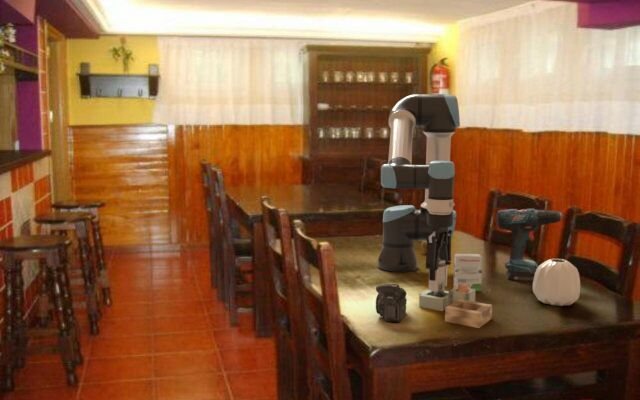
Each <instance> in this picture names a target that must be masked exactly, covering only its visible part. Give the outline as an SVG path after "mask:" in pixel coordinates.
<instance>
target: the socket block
mask: <svg viewBox="0 0 640 400" xmlns="http://www.w3.org/2000/svg"><path fill="white" fill-rule="evenodd" d="M476 292H477V291H476V289H470V288H468V292H467V293H466V292H460V291H458V286H456V287H453V288H451V289H449V290H444V297H443V298H442V297H436V296H431V290H429V289H425V290H424V291H421V292H420V293H418V296H419V297H418V298H419V299H418V306H419V308H422V309H423V308H424V309H428V310H429V309H430V310H434V311H441V312H443V311H444V312H445V307H447V306H449V305H450V304H452V303H453V302H455V301H457V300H458V299H461V300H467V301H472V302H476Z"/></svg>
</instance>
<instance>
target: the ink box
mask: <svg viewBox="0 0 640 400" xmlns="http://www.w3.org/2000/svg"><path fill="white" fill-rule="evenodd" d="M453 258H454V259H453V261H454V262H453V288H454V287H456V286H458V285H460V284H464V285H468V288H470V289H476V291H475V292H482V285H483V283H482V281H483V278H482V277H483V257H482V255H481V254H479V253H454V255H453Z"/></svg>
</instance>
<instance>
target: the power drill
mask: <svg viewBox="0 0 640 400" xmlns="http://www.w3.org/2000/svg"><path fill="white" fill-rule="evenodd" d="M564 217H566V216H565V215H564V214H563V213H562V212H560V211H558V210H547V209H535V208H526V209H525V208H523V209H520V210H519V209H517V208H509V209H500V210H497V213H496V225H497V226H498V227H497V228H498V229H500V230H505V231H510V232H511V233H512V240H511V245H510V254H509V255H510V256H509V261H507V262H505V263H504V267H505V269H506V272H505V275H506V278H507V280H509V281H511V280H513V281H527V282H529V281H531V282H533V280H534V276H535V272H536V270H537V268H538V266H539V265H538V263H537V262H535V260H532V259H526V258H524V254H525V250H526V245H527V243H528V241H529V240H530V241H531V240H534V239H535V237H534V232H536V231H538V229H539V226H545V225H546V226H547V225H550V224H556V223H559V222H561V221H562V219H563V218H564Z"/></svg>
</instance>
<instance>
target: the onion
mask: <svg viewBox="0 0 640 400" xmlns="http://www.w3.org/2000/svg"><path fill="white" fill-rule="evenodd" d="M420 247H421V249H422V251H423V252H424V253H426V251H427V241H421V245H420Z"/></svg>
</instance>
